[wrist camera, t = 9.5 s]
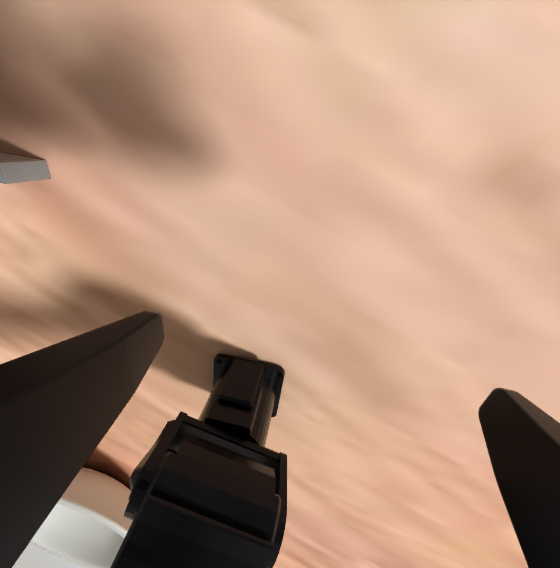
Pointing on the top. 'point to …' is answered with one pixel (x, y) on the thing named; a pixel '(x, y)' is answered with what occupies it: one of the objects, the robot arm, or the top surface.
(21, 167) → the corral
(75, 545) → the soup bowl
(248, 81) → the top surface
